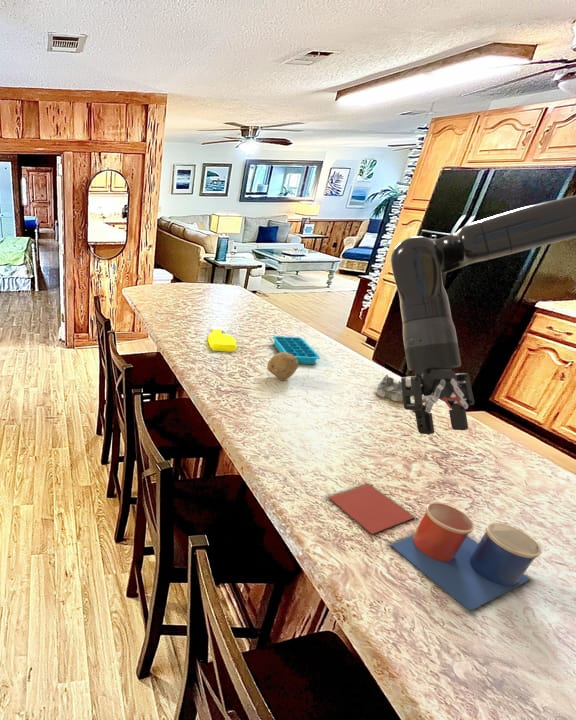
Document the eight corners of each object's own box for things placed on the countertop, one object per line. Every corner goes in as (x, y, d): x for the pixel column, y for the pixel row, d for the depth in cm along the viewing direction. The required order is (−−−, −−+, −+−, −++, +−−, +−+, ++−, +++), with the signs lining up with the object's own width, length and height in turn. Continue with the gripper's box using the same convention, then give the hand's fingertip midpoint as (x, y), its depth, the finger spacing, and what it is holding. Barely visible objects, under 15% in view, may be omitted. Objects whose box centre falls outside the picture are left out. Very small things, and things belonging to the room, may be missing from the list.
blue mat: (446, 522, 78) (446, 522, 78) (529, 580, 67) (529, 579, 67) (390, 545, 73) (390, 544, 73) (469, 611, 62) (470, 610, 62)
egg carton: (382, 384, 130) (386, 373, 128) (409, 392, 125) (414, 381, 123) (372, 394, 123) (376, 383, 122) (400, 404, 118) (405, 392, 117)
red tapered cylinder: (426, 528, 77) (441, 498, 73) (464, 556, 71) (483, 525, 67) (402, 538, 75) (418, 507, 71) (440, 567, 69) (458, 536, 65)
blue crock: (482, 549, 72) (501, 518, 69) (527, 580, 67) (551, 548, 63) (459, 559, 70) (478, 528, 67) (503, 593, 65) (527, 560, 61)
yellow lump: (209, 350, 154) (205, 329, 176) (237, 352, 152) (230, 331, 174) (210, 343, 153) (205, 323, 175) (239, 345, 151) (231, 325, 173)
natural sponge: (264, 382, 131) (270, 355, 126) (264, 371, 138) (270, 345, 134) (294, 387, 128) (301, 360, 123) (292, 375, 135) (299, 349, 131)
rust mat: (368, 484, 88) (368, 484, 88) (414, 518, 79) (414, 517, 79) (328, 498, 84) (328, 497, 84) (371, 534, 75) (372, 533, 75)
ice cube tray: (299, 344, 160) (301, 337, 159) (319, 365, 142) (321, 358, 141) (270, 342, 162) (272, 336, 160) (286, 363, 144) (288, 356, 142)
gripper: (423, 341, 66) (438, 437, 65) (480, 339, 70) (496, 429, 69) (381, 348, 73) (393, 434, 72) (435, 346, 77) (448, 427, 76)
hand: (443, 431), depth 70 cm, fingers open, 8 cm apart
